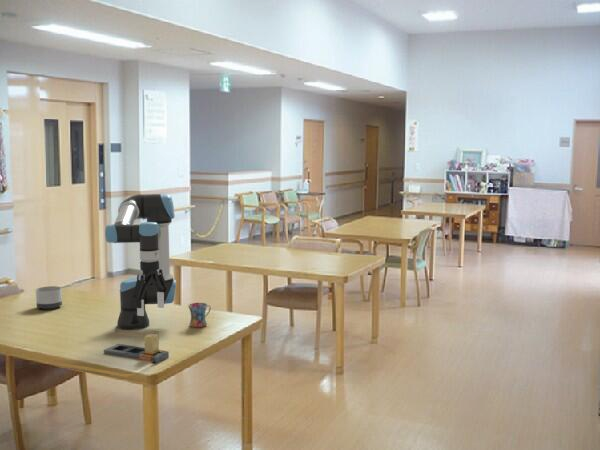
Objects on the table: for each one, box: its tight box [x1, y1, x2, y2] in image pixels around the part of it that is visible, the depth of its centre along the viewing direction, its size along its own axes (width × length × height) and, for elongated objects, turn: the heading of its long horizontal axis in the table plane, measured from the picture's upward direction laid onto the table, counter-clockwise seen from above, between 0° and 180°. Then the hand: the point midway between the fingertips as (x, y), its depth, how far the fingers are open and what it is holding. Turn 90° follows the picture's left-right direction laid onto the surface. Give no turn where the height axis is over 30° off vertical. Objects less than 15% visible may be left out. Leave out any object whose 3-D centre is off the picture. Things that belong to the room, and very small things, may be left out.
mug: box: [187, 302, 212, 328], centre depth 308 cm, size 12×9×11 cm
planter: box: [35, 285, 63, 310], centre depth 341 cm, size 13×13×10 cm
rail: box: [103, 343, 170, 365], centre depth 263 cm, size 26×9×3 cm, turn 67°
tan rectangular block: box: [144, 333, 160, 356], centre depth 259 cm, size 4×4×9 cm
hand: (150, 311), depth 258 cm, fingers open, 13 cm apart
